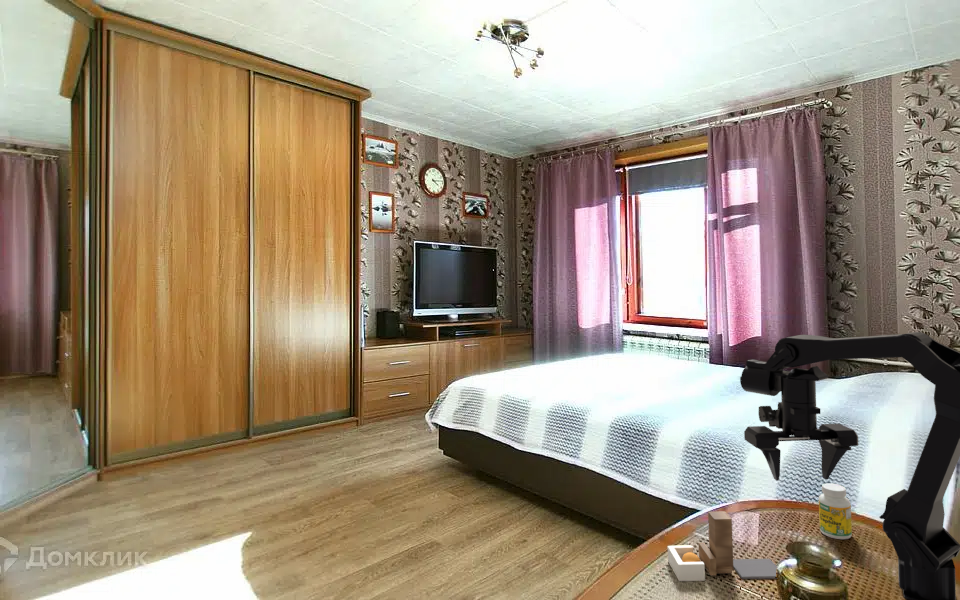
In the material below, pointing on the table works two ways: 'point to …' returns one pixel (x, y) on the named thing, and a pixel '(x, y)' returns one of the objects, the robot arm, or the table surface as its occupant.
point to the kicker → (718, 544)
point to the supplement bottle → (835, 512)
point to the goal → (685, 564)
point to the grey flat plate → (755, 568)
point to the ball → (690, 557)
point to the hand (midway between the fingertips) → (800, 479)
